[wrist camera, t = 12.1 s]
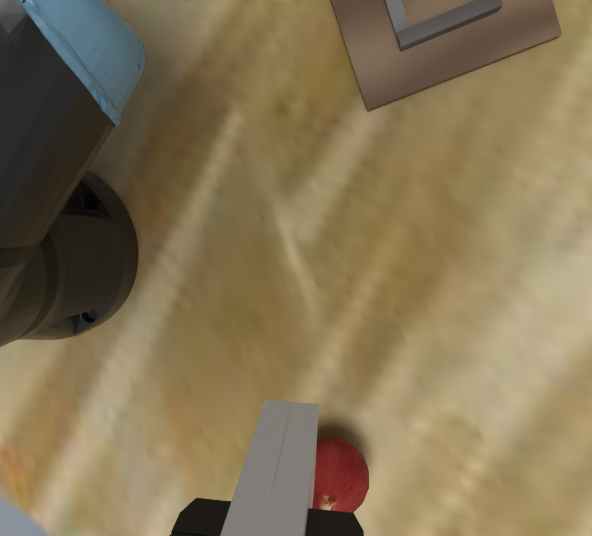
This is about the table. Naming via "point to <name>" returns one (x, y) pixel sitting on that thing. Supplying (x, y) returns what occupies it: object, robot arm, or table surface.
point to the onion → (339, 476)
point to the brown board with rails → (435, 40)
